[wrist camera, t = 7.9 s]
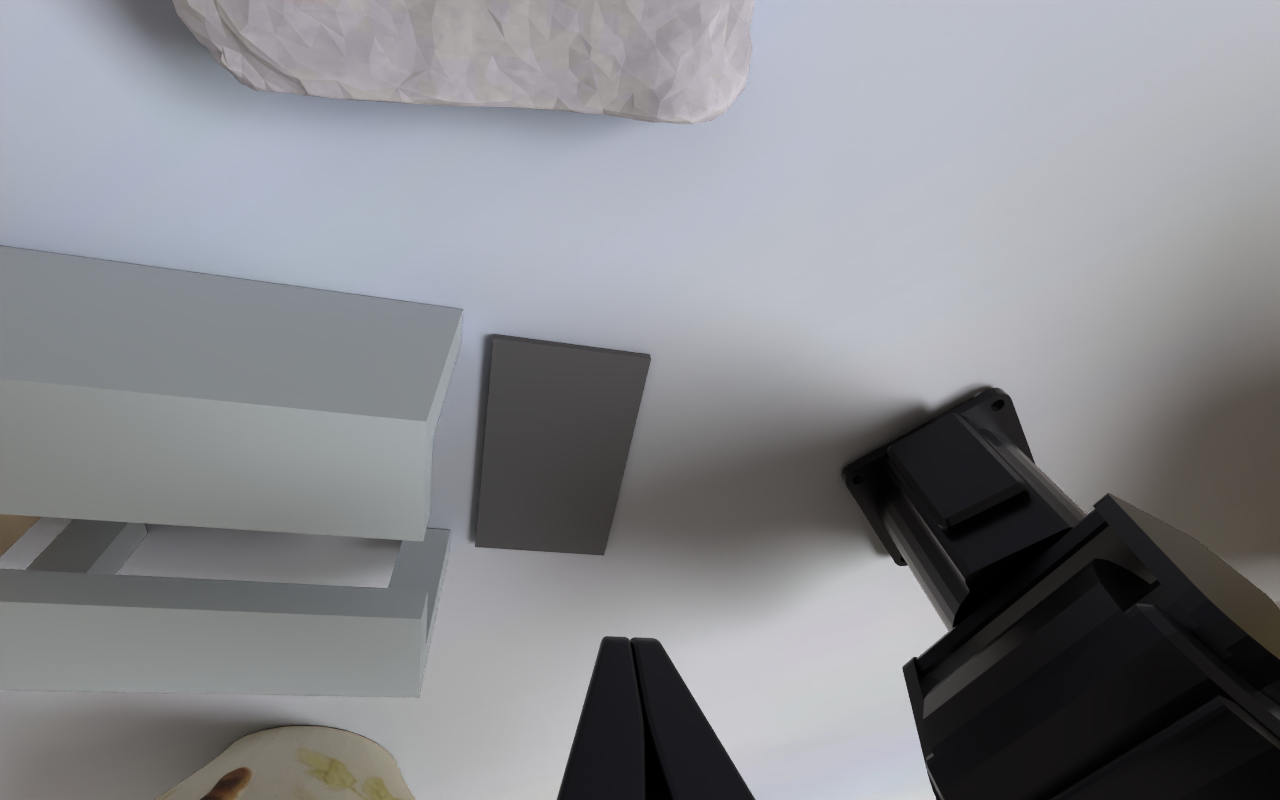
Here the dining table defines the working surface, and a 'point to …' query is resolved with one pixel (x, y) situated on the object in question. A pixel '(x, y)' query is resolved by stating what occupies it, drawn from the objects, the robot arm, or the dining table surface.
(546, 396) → the mat
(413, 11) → the stone block
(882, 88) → the dining table surface
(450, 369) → the tunnel
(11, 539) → the tan t-shaped block
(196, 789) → the sugar bowl
